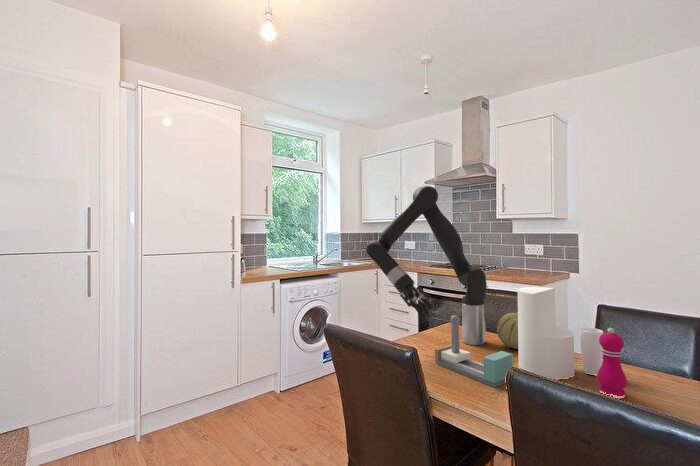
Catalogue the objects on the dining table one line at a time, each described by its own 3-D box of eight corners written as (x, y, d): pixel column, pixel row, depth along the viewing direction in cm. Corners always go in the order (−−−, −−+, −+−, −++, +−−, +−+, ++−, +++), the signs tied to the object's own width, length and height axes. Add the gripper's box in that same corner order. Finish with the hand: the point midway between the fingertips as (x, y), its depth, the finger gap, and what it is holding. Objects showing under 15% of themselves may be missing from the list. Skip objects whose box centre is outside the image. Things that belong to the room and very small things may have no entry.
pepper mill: (591, 389, 107) (590, 325, 107) (613, 388, 108) (612, 324, 108) (610, 401, 100) (609, 332, 100) (634, 399, 101) (633, 330, 100)
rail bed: (452, 357, 136) (452, 335, 136) (512, 379, 115) (512, 354, 115) (435, 363, 131) (434, 340, 131) (494, 387, 110) (494, 360, 110)
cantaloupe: (509, 340, 156) (508, 306, 156) (542, 348, 144) (542, 312, 144) (489, 346, 148) (489, 311, 148) (523, 356, 136) (522, 318, 136)
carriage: (455, 352, 134) (454, 311, 134) (470, 358, 128) (469, 315, 128) (440, 357, 130) (440, 314, 129) (456, 363, 124) (455, 318, 124)
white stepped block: (509, 368, 125) (508, 290, 125) (532, 357, 135) (531, 285, 135) (562, 384, 111) (560, 297, 111) (582, 370, 121) (581, 291, 121)
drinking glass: (600, 371, 121) (599, 328, 121) (607, 379, 115) (606, 333, 114) (577, 368, 123) (577, 326, 123) (583, 376, 117) (583, 332, 117)
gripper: (397, 275, 135) (425, 308, 128) (413, 271, 146) (440, 301, 140) (386, 287, 138) (412, 320, 131) (402, 283, 150) (428, 313, 143)
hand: (426, 310), depth 135 cm, fingers open, 8 cm apart
